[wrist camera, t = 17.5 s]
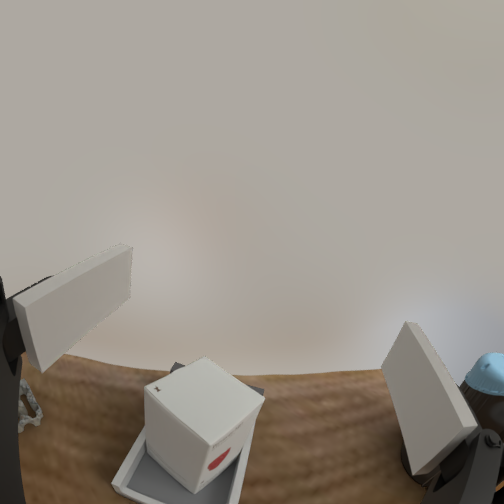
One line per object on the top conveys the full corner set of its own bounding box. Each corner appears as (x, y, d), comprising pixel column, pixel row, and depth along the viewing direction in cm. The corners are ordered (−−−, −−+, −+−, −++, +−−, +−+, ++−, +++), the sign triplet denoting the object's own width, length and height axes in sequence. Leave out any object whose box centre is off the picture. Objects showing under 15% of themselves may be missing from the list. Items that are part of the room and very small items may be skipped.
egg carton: (-4, 443, 16) (-16, 428, 14) (-17, 406, 19) (-27, 389, 18) (49, 425, 24) (41, 410, 23) (32, 391, 28) (25, 374, 27)
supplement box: (194, 496, 22) (208, 448, 18) (145, 452, 27) (140, 385, 22) (238, 459, 30) (268, 397, 25) (191, 423, 34) (204, 352, 30)
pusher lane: (226, 531, 19) (238, 521, 16) (116, 492, 20) (106, 474, 17) (253, 415, 40) (264, 389, 37) (172, 390, 40) (175, 362, 38)
